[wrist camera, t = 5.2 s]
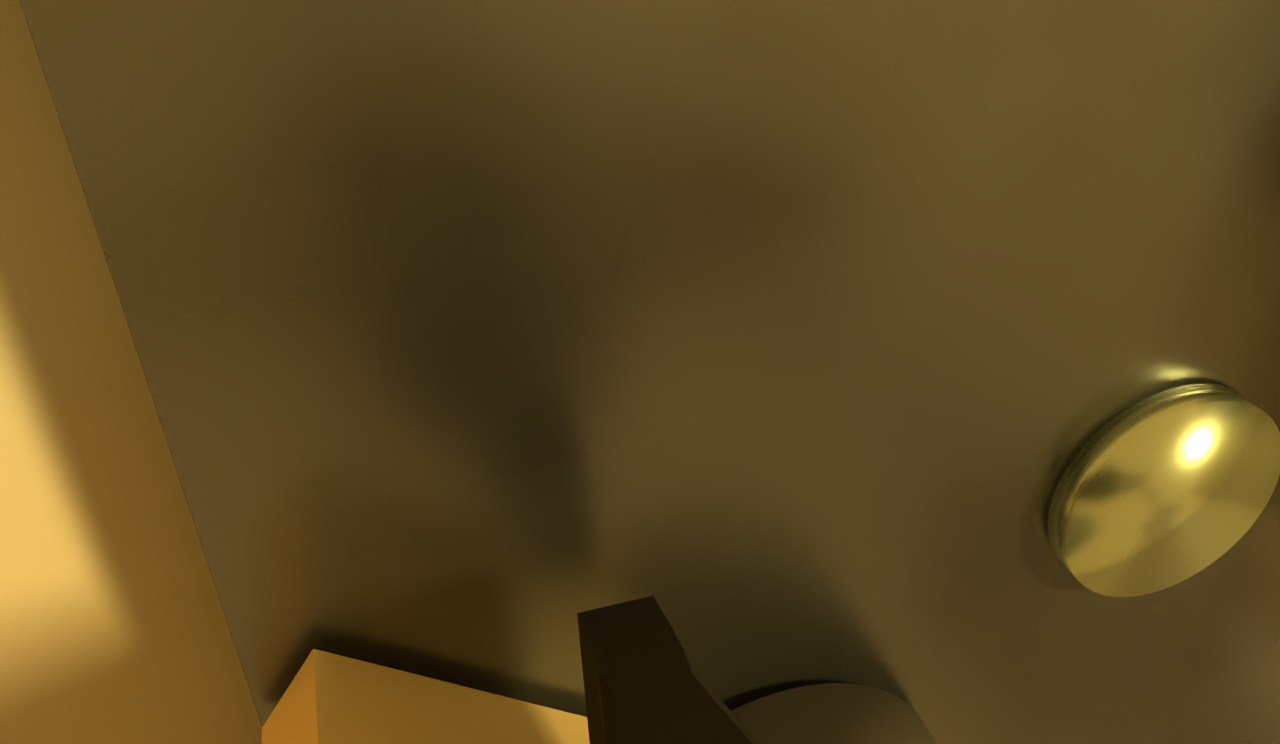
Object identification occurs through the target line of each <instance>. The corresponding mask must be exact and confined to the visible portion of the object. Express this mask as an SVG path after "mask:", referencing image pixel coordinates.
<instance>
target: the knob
mask: <svg viewBox="0 0 1280 744" xmlns="http://www.w3.org/2000/svg"><path fill="white" fill-rule="evenodd" d="M731 712H732V713H733V714H734V715H735V717H736V718H737V719H738V720H739V721H740V722H741V723H742V724H743V725H744V727H745V728H746V729H747V730H748V731H749V732H750V733H751V734H752V735H753V736H754V737H755V738H756V739H757V741H758V742H759V743H760V744H937V743H936V742H935V740H934V738H933V737H932V735H931V734H930V732H929V730H928V729H927V727H926V726H925V724H924V722H923V721H922V719H921V718H920V716H919V715H918V713H917V712H916V711H915V710H914V709H913V708H912V707H911V706H910V705H909V704H908V703H907V702H905V701H904V700H902V699H901V698H899V697H898V696H896V695H894V694H892V693H889V692H887V691H884V690H882V689H879V688H875V687H871V686H866V685H860V684H850V683H825V684H817V685H809V686H802V687H798V688H793V689H789V690H784V691H781V692H777V693H774V694H771V695H768V696H765V697H762V698H759V699H757V700H754V701H752V702H749V703H747V704H745V705H742V706H740V707H738V708H736V709H734V710H732V711H731ZM262 744H590V742H589V731H588V721H587V717H584V716H580V715H576V714H572V713H568V712H564V711H560V710H556V709H552V708H548V707H544V706H540V705H536V704H532V703H528V702H524V701H520V700H516V699H512V698H508V697H504V696H500V695H496V694H492V693H488V692H484V691H480V690H476V689H472V688H468V687H464V686H460V685H456V684H452V683H448V682H444V681H441V680H437V679H433V678H429V677H425V676H421V675H417V674H413V673H409V672H405V671H401V670H397V669H393V668H389V667H385V666H381V665H377V664H373V663H369V662H365V661H361V660H357V659H353V658H349V657H345V656H341V655H337V654H333V653H329V652H325V651H321V650H317V649H313V650H312V651H311V653H310V654H309V656H308V657H307V659H306V660H305V662H304V664H303V665H302V667H301V668H300V670H299V671H298V673H297V674H296V676H295V677H294V679H293V681H292V682H291V684H290V685H289V687H288V688H287V690H286V691H285V693H284V695H283V696H282V698H281V699H280V701H279V702H278V704H277V705H276V707H275V709H274V710H273V712H272V713H271V715H270V716H269V718H268V719H267V721H266V723H265V724H264V726H263V727H262Z"/></svg>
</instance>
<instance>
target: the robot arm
mask: <svg viewBox="0 0 1280 744" xmlns="http://www.w3.org/2000/svg"><path fill="white" fill-rule="evenodd" d="M577 617H578V627H579V638H580V648H581V659H582V669H583V679H584V690H585V700H586V711H587V721H588V731H589V742H590V744H760V743H759V742H758V741H757V739H756V738H755V737H754V736H753V735H752V734H751V733H750V732H749V731H748V730H747V729H746V728H745V727H744V725H743V724H742V723H741V722H740V721H739V720H738V719H737V718H736V717H735V715H734V714H733V713H732V712H731V711H730V710H729V709H728V707H727V706H726V705H725V704H724V703H723V702H722V701H721V699H720V698H719V697H718V696H717V695H716V693H715V692H714V691H713V690H712V689H711V687H710V686H709V685H708V684H707V683H706V681H705V680H704V679H703V678H702V677H701V675H700V674H699V673H698V672H697V671H696V669H695V668H694V667H693V666H692V664H691V663H690V662H689V661H688V659H687V657H686V654H685V652H684V649H683V647H682V646H681V644H680V642H679V640H678V638H677V636H676V634H675V633H674V631H673V629H672V627H671V625H670V623H669V621H668V620H667V618H666V616H665V615H664V613H663V611H662V610H661V608H660V606H659V605H658V603H657V601H656V600H655V598H654V596H649V597H645V598H641V599H636V600H632V601H628V602H623V603H619V604H614V605H610V606H606V607H601V608H597V609H593V610H588V611H584V612H579V613H577Z"/></svg>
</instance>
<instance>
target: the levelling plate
mask: <svg viewBox="0 0 1280 744" xmlns="http://www.w3.org/2000/svg"><path fill="white" fill-rule="evenodd" d="M20 1H21V4H22V7H23V10H24V13H25V16H26V19H27V22H28V25H29V28H30V31H31V34H32V37H33V40H34V43H35V46H36V49H37V52H38V55H39V58H40V61H41V64H42V67H43V70H44V73H45V76H46V79H47V82H48V85H49V88H50V91H51V94H52V97H53V100H54V103H55V106H56V109H57V112H58V115H59V118H60V121H61V124H62V127H63V130H64V133H65V136H66V139H67V142H68V145H69V148H70V151H71V154H72V157H73V160H74V163H75V166H76V169H77V172H78V175H79V178H80V181H81V184H82V187H83V190H84V193H85V196H86V199H87V202H88V205H89V208H90V211H91V214H92V217H93V220H94V223H95V226H96V229H97V232H98V235H99V238H100V241H101V244H102V247H103V250H104V253H105V256H106V259H107V262H108V265H109V268H110V271H111V274H112V277H113V280H114V283H115V286H116V289H117V292H118V295H119V298H120V301H121V304H122V307H123V310H124V313H125V316H126V319H127V322H128V325H129V328H130V331H131V334H132V337H133V340H134V343H135V346H136V349H137V352H138V355H139V358H140V361H141V364H142V367H143V370H144V373H145V376H146V379H147V382H148V385H149V388H150V391H151V394H152V397H153V400H154V403H155V406H156V409H157V412H158V415H159V418H160V421H161V424H162V427H163V430H164V433H165V436H166V439H167V442H168V445H169V448H170V451H171V454H172V457H173V460H174V463H175V466H176V469H177V472H178V475H179V478H180V481H181V484H182V487H183V490H184V493H185V496H186V499H187V502H188V505H189V508H190V511H191V514H192V517H193V520H194V523H195V526H196V529H197V532H198V535H199V538H200V541H201V544H202V547H203V550H204V553H205V556H206V559H207V562H208V565H209V568H210V571H211V574H212V577H213V580H214V583H215V586H216V589H217V592H218V595H219V598H220V601H221V604H222V607H223V610H224V613H225V616H226V619H227V622H228V625H229V628H230V631H231V634H232V637H233V640H234V643H235V646H236V649H237V652H238V655H239V658H240V661H241V664H242V667H243V670H244V673H245V676H246V679H247V682H248V685H249V688H250V691H251V694H252V697H253V700H254V703H255V706H256V709H257V712H258V715H259V718H260V721H261V724H262V727H263V726H264V724H265V723H266V721H267V719H268V718H269V716H270V715H271V713H272V712H273V710H274V709H275V707H276V705H277V704H278V702H279V701H280V699H281V698H282V696H283V695H284V693H285V691H286V690H287V688H288V687H289V685H290V684H291V682H292V681H293V679H294V677H295V676H296V674H297V673H298V671H299V670H300V668H301V667H302V665H303V664H304V662H305V660H306V659H307V657H308V656H309V654H310V653H311V651H312V650H313V649H317V650H321V651H325V652H329V653H333V654H337V655H341V656H345V657H349V658H353V659H357V660H361V661H365V662H369V663H373V664H377V665H381V666H385V667H389V668H393V669H397V670H401V671H405V672H409V673H413V674H417V675H421V676H425V677H429V678H433V679H437V680H441V681H444V682H448V683H452V684H456V685H460V686H464V687H468V688H472V689H476V690H480V691H484V692H488V693H492V694H496V695H500V696H504V697H508V698H512V699H516V700H520V701H524V702H528V703H532V704H536V705H540V706H544V707H548V708H552V709H556V710H560V711H564V712H568V713H572V714H576V715H580V716H584V717H587V711H586V700H585V690H584V679H583V669H582V659H581V648H580V638H579V627H578V617H577V613H579V612H584V611H588V610H593V609H597V608H601V607H606V606H610V605H614V604H619V603H623V602H628V601H632V600H636V599H641V598H645V597H649V596H654V598H655V600H656V601H657V603H658V605H659V606H660V608H661V610H662V611H663V613H664V615H665V616H666V618H667V620H668V621H669V623H670V625H671V627H672V629H673V631H674V633H675V634H676V636H677V638H678V640H679V642H680V644H681V646H682V647H683V649H684V652H685V654H686V657H687V659H688V661H689V662H690V663H691V664H692V666H693V667H694V668H695V669H696V671H697V672H698V673H699V674H700V675H701V677H702V678H703V679H704V680H705V681H706V683H707V684H708V685H709V686H710V687H711V689H712V690H713V691H714V692H715V693H716V695H717V696H718V697H719V698H720V699H721V701H722V702H723V703H724V704H725V705H726V706H727V707H728V709H729V710H730V711H732V710H734V709H736V708H738V707H740V706H742V705H745V704H747V703H749V702H752V701H754V700H757V699H759V698H762V697H765V696H768V695H771V694H774V693H777V692H781V691H784V690H789V689H793V688H798V687H802V686H809V685H817V684H825V683H850V684H860V685H866V686H871V687H875V688H879V689H882V690H884V691H887V692H889V693H892V694H894V695H896V696H898V697H899V698H901V699H902V700H904V701H905V702H907V703H908V704H909V705H910V706H911V707H912V708H913V709H914V710H915V711H916V712H917V713H918V715H919V716H920V718H921V719H922V721H923V722H924V724H925V726H926V727H927V729H928V730H929V732H930V734H931V735H932V737H933V738H934V740H935V742H936V743H937V744H1280V0H20Z"/></svg>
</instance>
